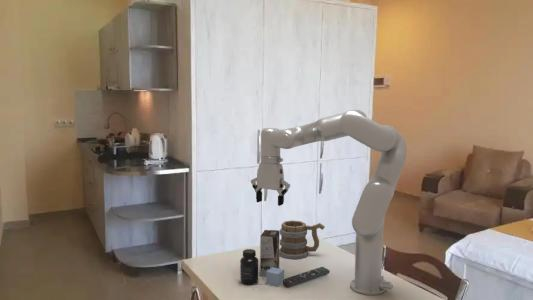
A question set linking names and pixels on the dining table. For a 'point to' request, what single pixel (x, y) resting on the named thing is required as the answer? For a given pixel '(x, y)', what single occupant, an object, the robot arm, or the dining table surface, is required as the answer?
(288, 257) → the tankard
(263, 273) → the coffee box
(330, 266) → the dining table surface
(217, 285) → the dining table surface
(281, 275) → the dusty-blue block
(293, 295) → the dining table surface
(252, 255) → the supplement bottle
